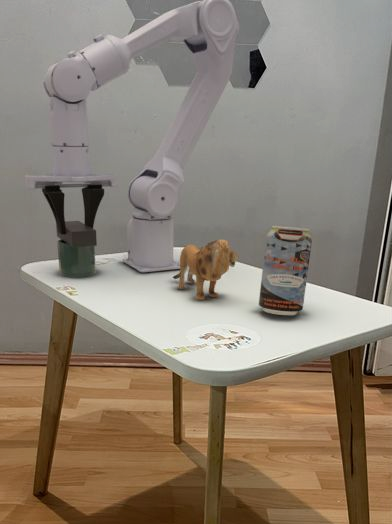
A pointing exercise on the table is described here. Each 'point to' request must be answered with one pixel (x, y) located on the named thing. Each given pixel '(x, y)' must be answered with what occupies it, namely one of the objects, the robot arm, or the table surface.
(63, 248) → the cup
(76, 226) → the black bar
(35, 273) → the table surface
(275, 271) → the beverage can
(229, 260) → the lion figurine
